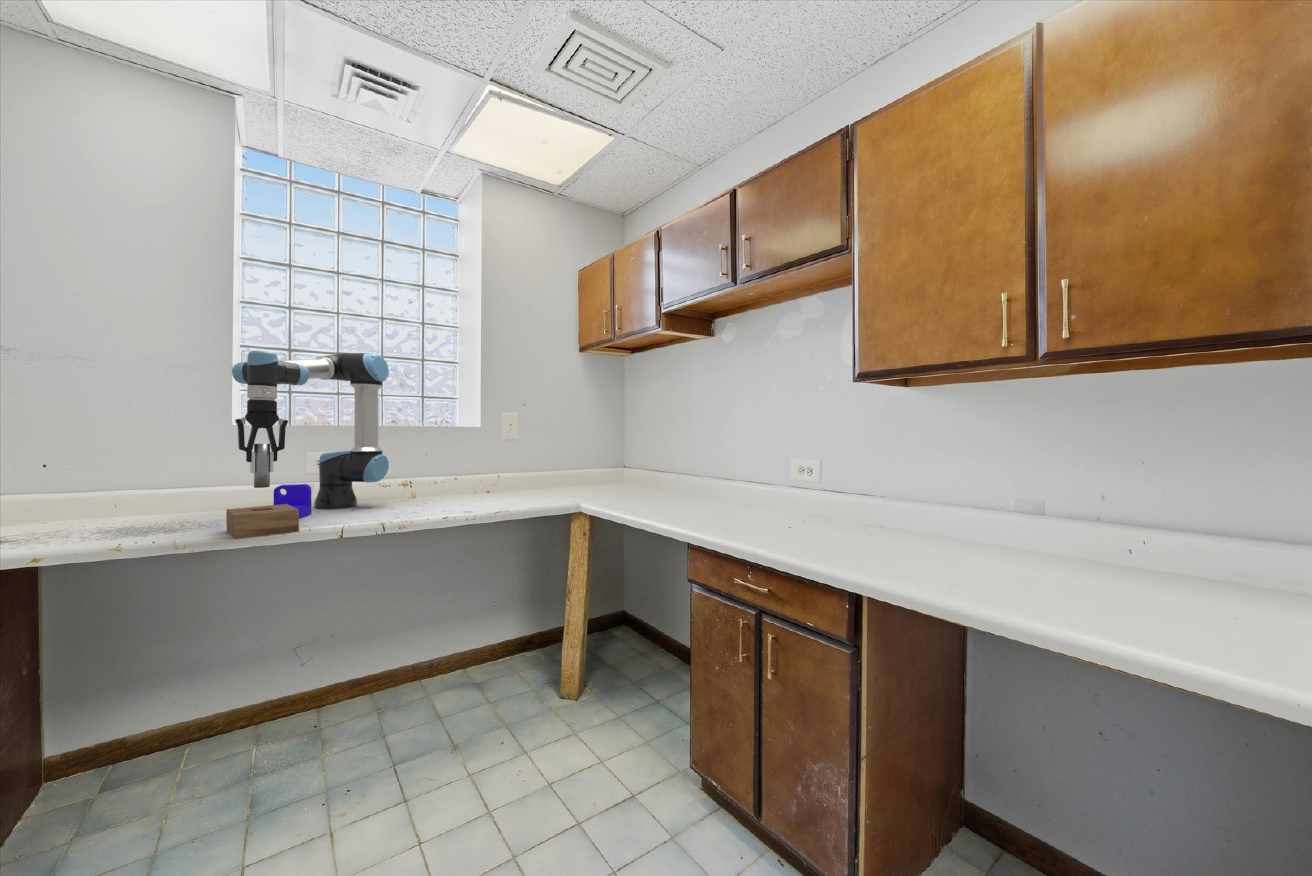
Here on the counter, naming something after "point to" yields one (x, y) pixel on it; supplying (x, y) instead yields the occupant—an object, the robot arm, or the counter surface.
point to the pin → (262, 465)
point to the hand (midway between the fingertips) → (261, 472)
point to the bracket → (295, 497)
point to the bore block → (262, 520)
